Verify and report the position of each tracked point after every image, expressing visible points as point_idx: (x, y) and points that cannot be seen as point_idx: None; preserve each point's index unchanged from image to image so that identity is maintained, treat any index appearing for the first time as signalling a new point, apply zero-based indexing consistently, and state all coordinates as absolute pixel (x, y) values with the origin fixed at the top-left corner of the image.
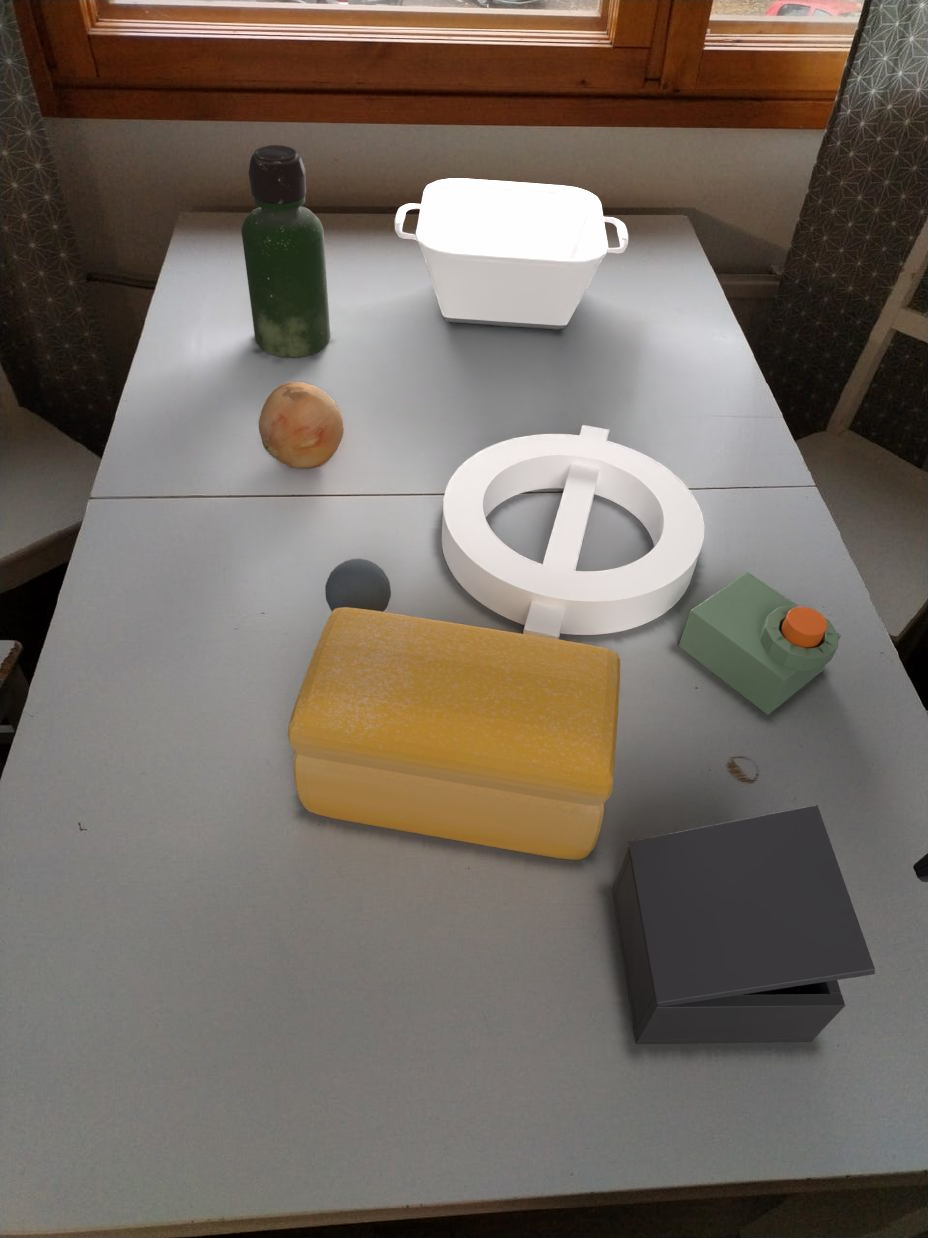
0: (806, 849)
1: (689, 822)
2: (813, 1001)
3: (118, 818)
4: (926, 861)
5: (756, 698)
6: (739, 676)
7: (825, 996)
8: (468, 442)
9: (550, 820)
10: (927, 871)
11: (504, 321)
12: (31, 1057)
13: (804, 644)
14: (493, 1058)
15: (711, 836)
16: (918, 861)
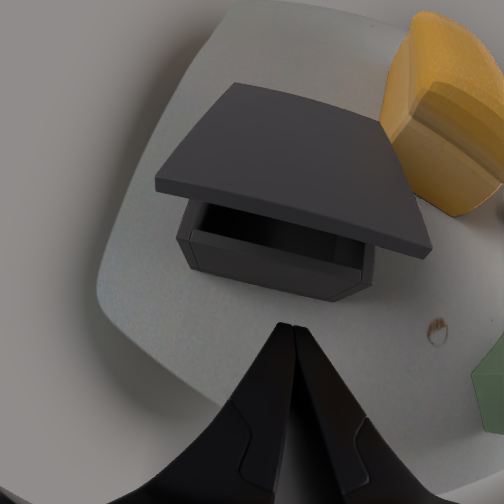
0: (366, 202)
1: (400, 260)
2: (191, 206)
3: (377, 32)
4: (305, 344)
5: (484, 364)
6: (500, 350)
7: (192, 222)
8: None
9: (395, 110)
10: (281, 336)
11: None
12: (287, 3)
13: None
14: (247, 82)
15: (386, 153)
16: (311, 335)
